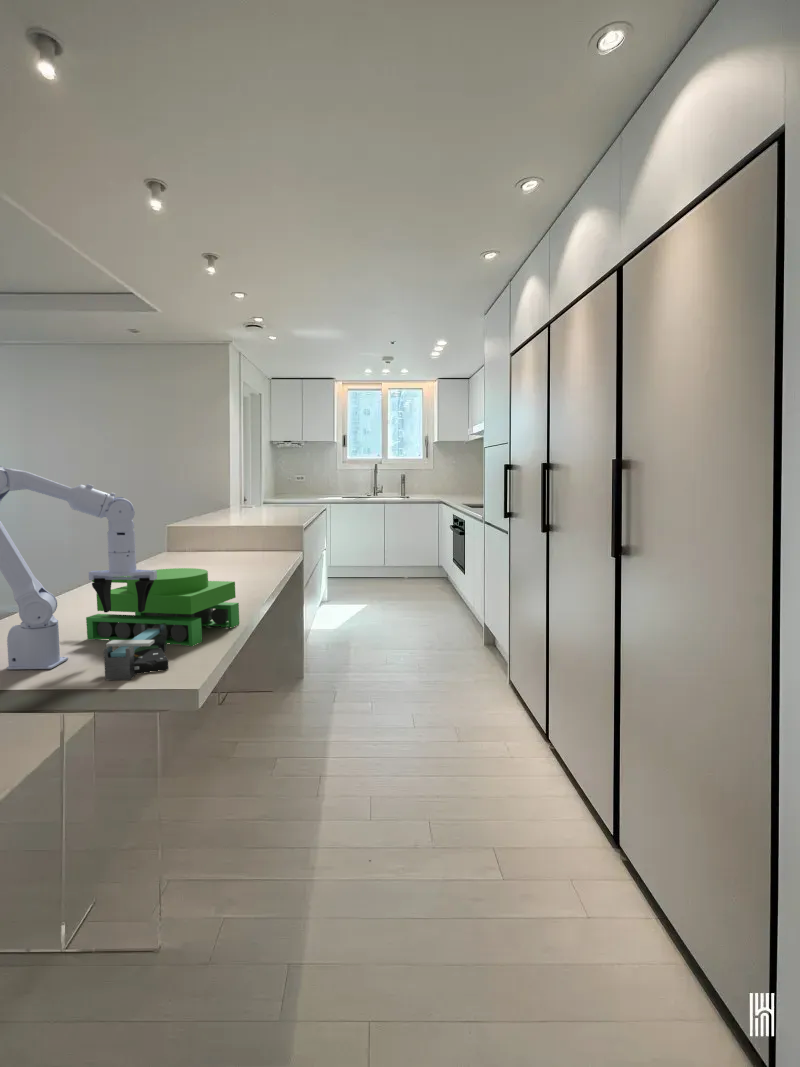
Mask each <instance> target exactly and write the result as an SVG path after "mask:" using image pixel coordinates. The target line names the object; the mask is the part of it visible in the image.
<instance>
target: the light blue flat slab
mask: <svg viewBox="0 0 800 1067" xmlns="http://www.w3.org/2000/svg"><path fill="white" fill-rule="evenodd" d="M159 633H161V628H147V630H145V631H144V632H142V633H140V634H139V635H137V636H136V637H134V638H133V639H131V640H111V641H108V642H107V643H106V644H105V648H106V647H107V646H112V647H118V648H116V650H115V649H113V652H111V657H126V650H125V649H126V648H127V647H129V646H134V651H135V650H136V649H137V648H139V647H140V646H150V645H152V644H153V643H154V640H150V639H152V638H153V637H154V636H156V635H157V634H159Z"/></svg>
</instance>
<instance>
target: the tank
mask: <svg viewBox="0 0 800 1067" xmlns="http://www.w3.org/2000/svg"><path fill="white" fill-rule="evenodd" d="M156 570H157V579H155V580H154V583H153V585H152V587H151V589H150V591H149V594H148V597H147V600H146V605H145V611H143V612H138V596H137V590H136V585H135V582H137V581H139V580H112V583H115V584H117V583H121V584H125V583H126V585H124V586H120V587H116V588H113V589H112V588H111V611H110V612H115V614H112V613H97V614H92V615H89V616H86V617H85V620H86V622H85V623H86V637H87V638H86V640H92V639H109V640H131V639H133V638H134V637H136V636H137V635H139V634H140V633H142V631H141V625H142V624H143V623H147V628H160V624H162V623H166V632H167V635H166V643H170V644H169V645H172V644H181V645H180V646H189V647H194V646H196V645H195V644H197V643H199V644H201V643H202V642H203V628H202V627H210V626H221V627H220V628H229V627H233V628H235V627H237V626H239V625H238V624H240V605H239V602H231V601H230V600H233V599H235V598H236V582H235V581H229V580H227V581H224V580H220V581H219V580H209V572H208V570H206V569H202V568H194V567H190V568H189V567H186V568H185V567H182V568H181V567H180V568H179V567H175V568H161V569H156ZM123 577H130V576H123ZM91 582H92V583H94V580H91ZM112 583H111V584H112ZM95 593H96V609H97V612H104V609H103V606H102V603H101V600H100V598H99V596H98V594H97V592H95ZM227 601H229V602H227ZM117 612H119V613H122V612H123V613H134V614H118V613H117ZM116 613H117V614H116ZM236 625H237V626H236ZM234 626H235V627H234ZM157 635H161V633H159V634H157ZM200 642H201V643H200ZM193 645H194V646H193ZM197 645H198V644H197Z"/></svg>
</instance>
